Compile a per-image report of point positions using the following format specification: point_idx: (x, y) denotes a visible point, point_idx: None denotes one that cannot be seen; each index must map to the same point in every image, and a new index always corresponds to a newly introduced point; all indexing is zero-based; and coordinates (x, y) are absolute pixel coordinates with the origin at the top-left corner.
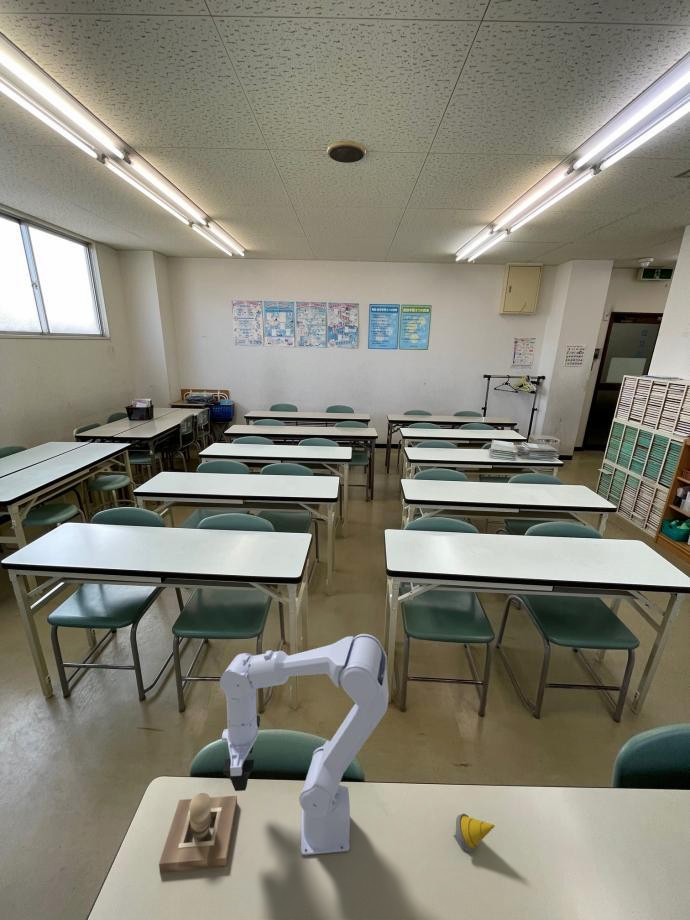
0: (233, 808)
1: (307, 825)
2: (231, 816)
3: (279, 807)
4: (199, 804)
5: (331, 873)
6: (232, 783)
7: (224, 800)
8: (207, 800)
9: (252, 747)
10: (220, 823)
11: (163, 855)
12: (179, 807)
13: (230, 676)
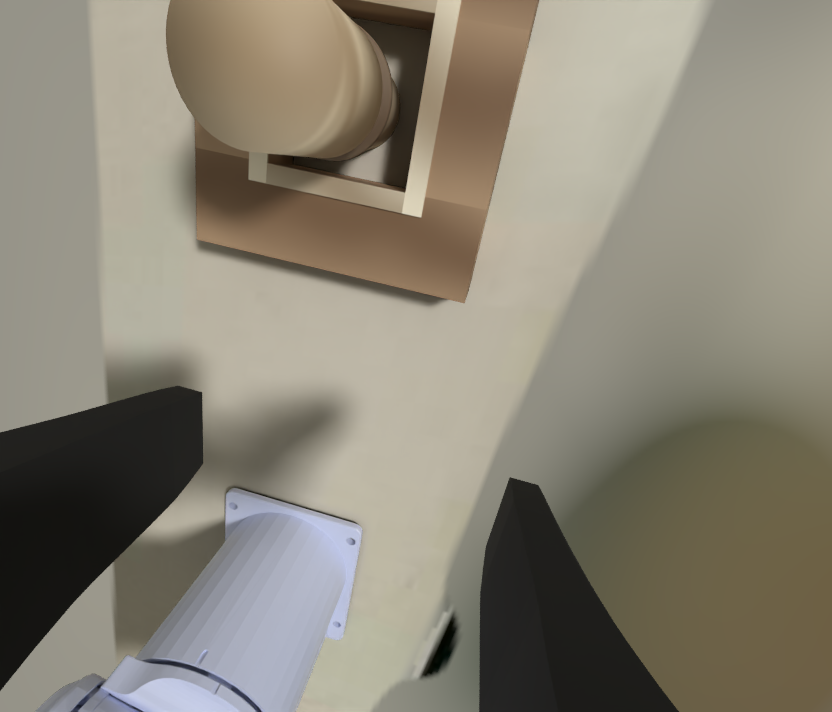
0: (399, 282)
1: (204, 578)
2: (364, 270)
3: (397, 457)
4: (236, 52)
5: (186, 540)
6: (69, 417)
7: (457, 233)
8: (259, 128)
9: (483, 610)
10: (342, 212)
11: None
12: None
13: None
